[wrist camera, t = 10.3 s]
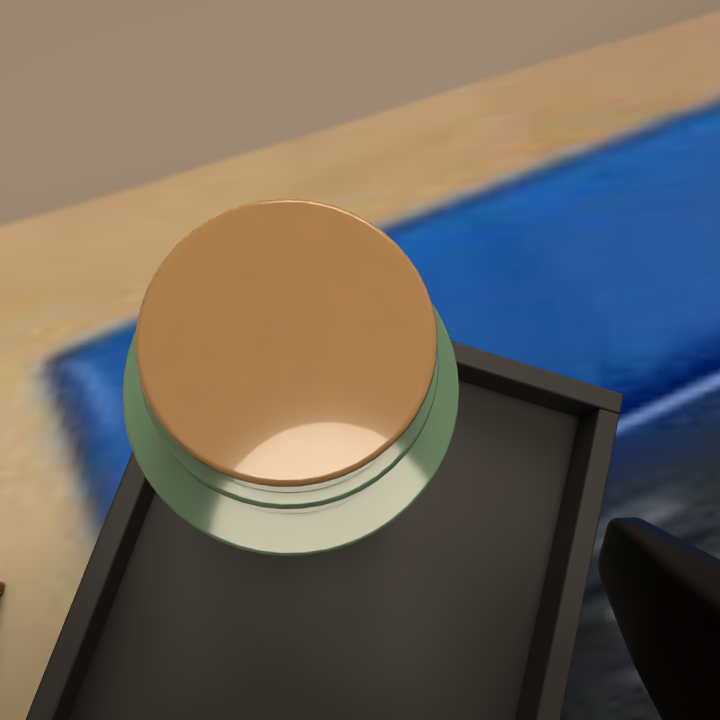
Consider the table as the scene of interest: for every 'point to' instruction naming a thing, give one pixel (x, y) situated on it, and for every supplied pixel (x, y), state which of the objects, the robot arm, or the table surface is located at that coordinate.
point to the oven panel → (1, 587)
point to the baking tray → (361, 586)
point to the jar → (289, 379)
